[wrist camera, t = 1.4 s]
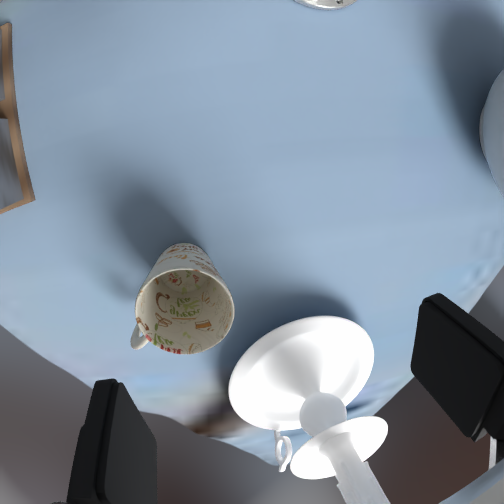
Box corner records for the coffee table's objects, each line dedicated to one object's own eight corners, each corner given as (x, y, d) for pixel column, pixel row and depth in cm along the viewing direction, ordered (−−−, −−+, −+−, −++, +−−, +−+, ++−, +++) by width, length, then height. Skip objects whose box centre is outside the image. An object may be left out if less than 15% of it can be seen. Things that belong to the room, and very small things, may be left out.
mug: (237, 264, 36) (255, 308, 27) (167, 337, 38) (165, 394, 28) (179, 216, 33) (177, 246, 24) (111, 298, 35) (92, 349, 25)
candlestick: (206, 429, 44) (236, 594, 19) (248, 292, 38) (347, 519, 12) (321, 430, 50) (385, 559, 24) (385, 312, 43) (516, 446, 17)
